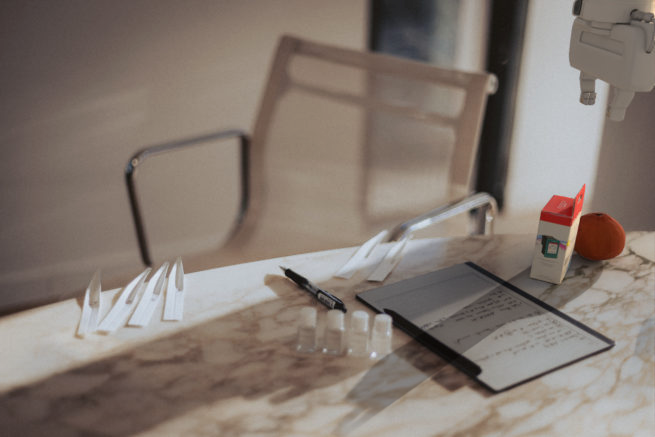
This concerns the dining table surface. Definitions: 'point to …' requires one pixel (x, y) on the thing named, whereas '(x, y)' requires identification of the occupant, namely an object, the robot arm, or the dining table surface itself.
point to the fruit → (599, 237)
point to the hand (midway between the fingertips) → (599, 111)
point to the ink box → (556, 237)
